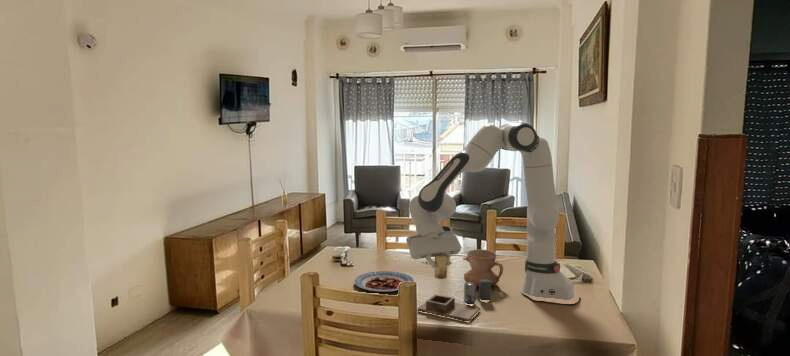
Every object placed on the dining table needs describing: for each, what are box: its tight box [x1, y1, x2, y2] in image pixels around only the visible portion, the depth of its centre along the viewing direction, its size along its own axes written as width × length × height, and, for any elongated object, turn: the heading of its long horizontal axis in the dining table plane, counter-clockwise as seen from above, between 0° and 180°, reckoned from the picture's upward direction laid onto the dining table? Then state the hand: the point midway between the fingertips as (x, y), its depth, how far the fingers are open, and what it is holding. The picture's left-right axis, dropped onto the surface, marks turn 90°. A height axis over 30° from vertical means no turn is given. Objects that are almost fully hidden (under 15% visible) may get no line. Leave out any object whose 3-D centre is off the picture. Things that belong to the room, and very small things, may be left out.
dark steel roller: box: [463, 281, 477, 304], centre depth 188 cm, size 4×4×8 cm
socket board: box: [417, 293, 481, 322], centre depth 181 cm, size 20×12×4 cm, turn 61°
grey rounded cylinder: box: [478, 279, 492, 300], centre depth 191 cm, size 4×4×8 cm
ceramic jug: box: [462, 249, 504, 288], centre depth 209 cm, size 18×14×14 cm
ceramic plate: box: [354, 270, 415, 293], centre depth 211 cm, size 26×26×3 cm
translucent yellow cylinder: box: [434, 254, 448, 280], centre depth 180 cm, size 4×4×8 cm
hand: (441, 265), depth 179 cm, fingers closed on translucent yellow cylinder, 4 cm apart
